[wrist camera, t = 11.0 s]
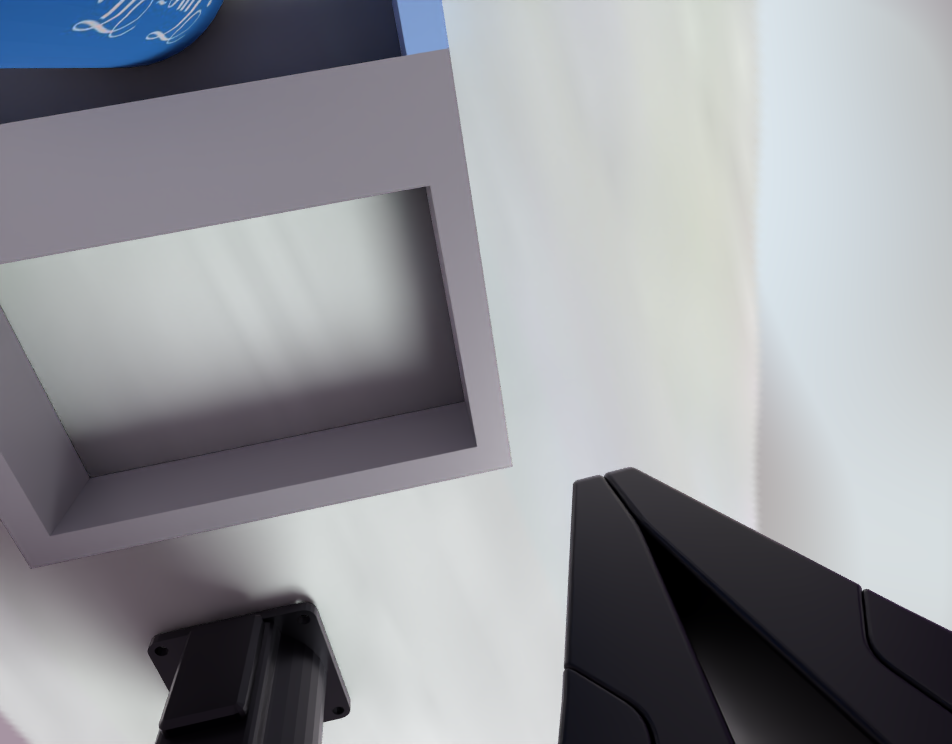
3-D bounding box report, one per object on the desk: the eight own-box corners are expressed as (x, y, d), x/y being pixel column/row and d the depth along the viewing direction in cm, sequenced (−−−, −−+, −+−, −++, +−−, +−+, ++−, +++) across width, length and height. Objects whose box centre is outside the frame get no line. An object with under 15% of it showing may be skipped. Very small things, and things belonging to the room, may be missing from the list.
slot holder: (502, 418, 23) (525, 483, 19) (66, 509, 22) (7, 594, 18) (372, -417, 14) (371, -589, 10) (-395, -323, 13) (-696, -477, 9)
